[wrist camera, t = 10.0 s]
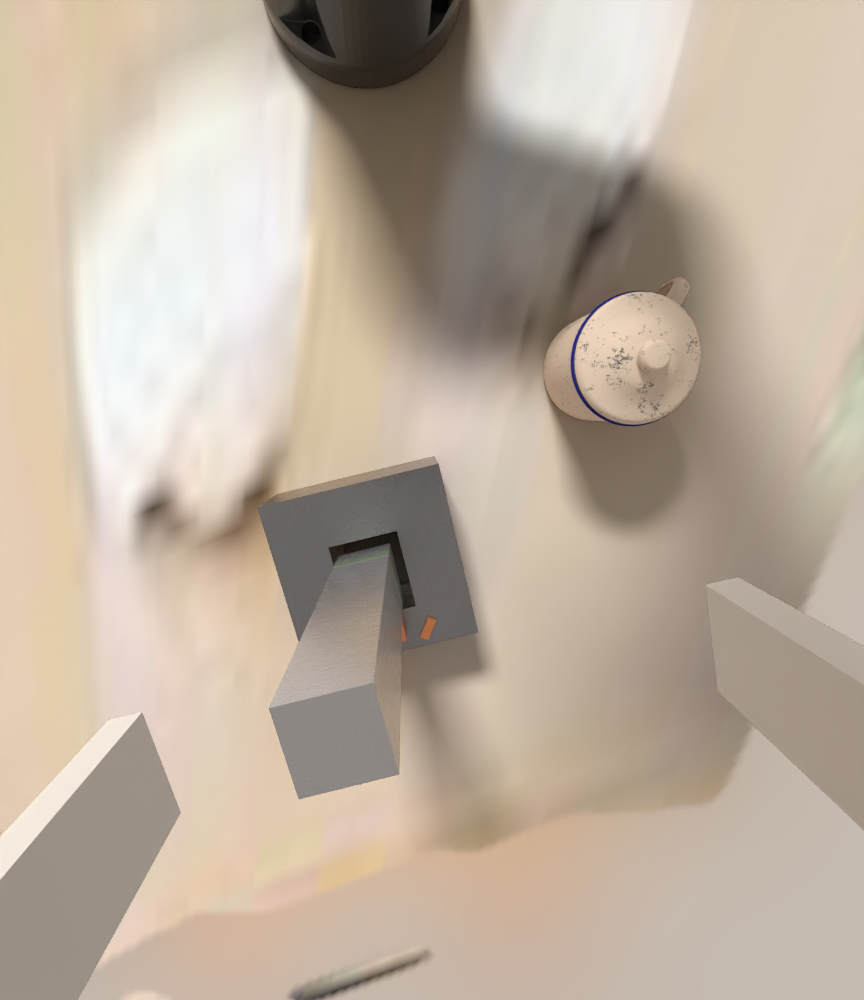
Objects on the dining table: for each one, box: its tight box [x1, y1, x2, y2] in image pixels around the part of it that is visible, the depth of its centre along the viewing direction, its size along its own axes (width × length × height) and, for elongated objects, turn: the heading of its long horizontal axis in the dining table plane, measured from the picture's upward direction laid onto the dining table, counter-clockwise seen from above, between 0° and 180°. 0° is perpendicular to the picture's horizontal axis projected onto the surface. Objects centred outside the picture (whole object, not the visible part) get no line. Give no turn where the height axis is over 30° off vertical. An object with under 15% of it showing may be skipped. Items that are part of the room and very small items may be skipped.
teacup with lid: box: [543, 277, 701, 426], centre depth 38 cm, size 12×9×12 cm
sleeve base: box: [257, 456, 478, 651], centre depth 41 cm, size 14×14×8 cm
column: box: [269, 543, 403, 799], centre depth 29 cm, size 5×4×20 cm
